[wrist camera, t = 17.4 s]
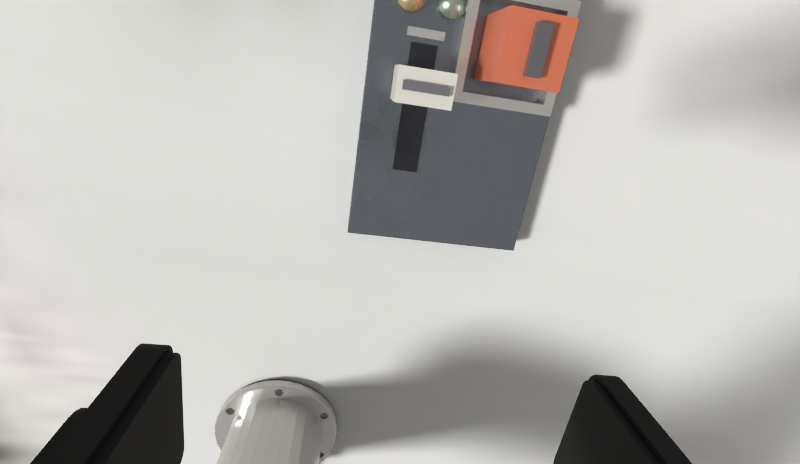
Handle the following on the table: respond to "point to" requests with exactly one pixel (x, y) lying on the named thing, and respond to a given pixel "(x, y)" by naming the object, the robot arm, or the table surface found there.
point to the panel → (446, 131)
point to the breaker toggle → (423, 87)
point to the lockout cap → (525, 48)
